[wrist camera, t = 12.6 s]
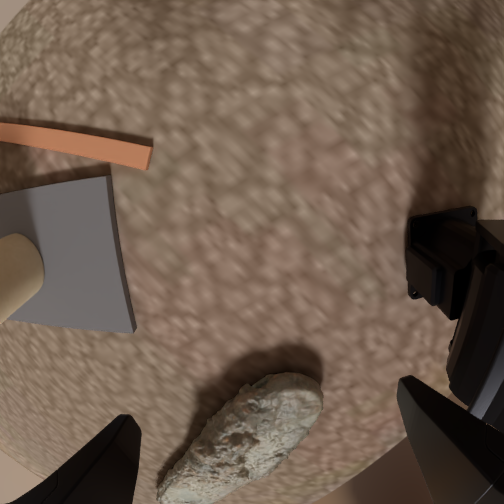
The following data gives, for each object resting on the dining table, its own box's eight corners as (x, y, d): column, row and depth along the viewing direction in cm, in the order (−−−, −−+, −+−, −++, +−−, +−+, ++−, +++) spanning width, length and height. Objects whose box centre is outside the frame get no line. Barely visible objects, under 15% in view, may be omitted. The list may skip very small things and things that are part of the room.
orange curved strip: (153, 147, 18) (150, 147, 18) (147, 169, 19) (145, 170, 18) (-16, 120, 17) (-20, 120, 16) (-19, 137, 17) (-23, 137, 17)
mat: (111, 174, 19) (105, 176, 18) (136, 327, 23) (133, 333, 22) (-23, 199, 19) (-29, 201, 18) (6, 314, 23) (2, 318, 23)
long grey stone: (145, 480, 35) (204, 496, 37) (139, 507, 31) (201, 522, 33) (246, 345, 23) (346, 379, 25) (245, 398, 18) (360, 425, 20)
